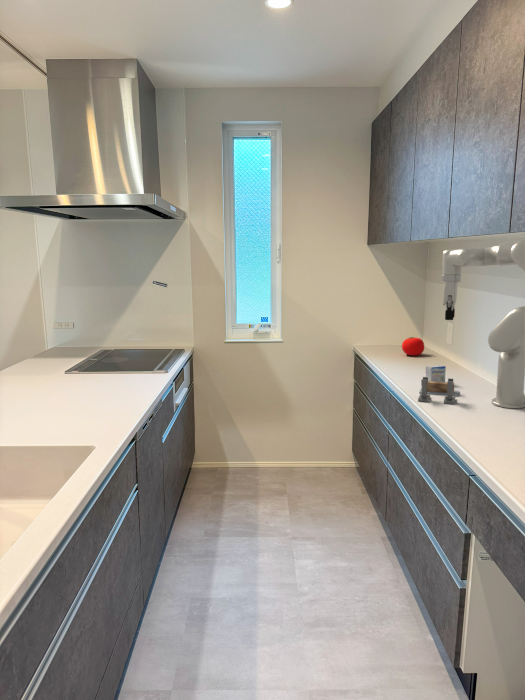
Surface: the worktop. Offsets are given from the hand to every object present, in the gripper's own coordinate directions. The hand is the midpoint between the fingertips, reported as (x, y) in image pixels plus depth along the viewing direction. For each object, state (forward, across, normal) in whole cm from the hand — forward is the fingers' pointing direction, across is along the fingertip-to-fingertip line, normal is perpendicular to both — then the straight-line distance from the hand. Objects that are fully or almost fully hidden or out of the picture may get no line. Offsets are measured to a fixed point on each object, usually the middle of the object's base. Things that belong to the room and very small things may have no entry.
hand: (449, 318), depth 207 cm
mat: (+32, +4, -3) cm, 33 cm away
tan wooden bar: (+32, +4, -3) cm, 32 cm away
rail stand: (+32, +17, -3) cm, 37 cm away
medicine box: (+33, -12, -6) cm, 35 cm away
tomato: (+32, -82, -25) cm, 92 cm away
